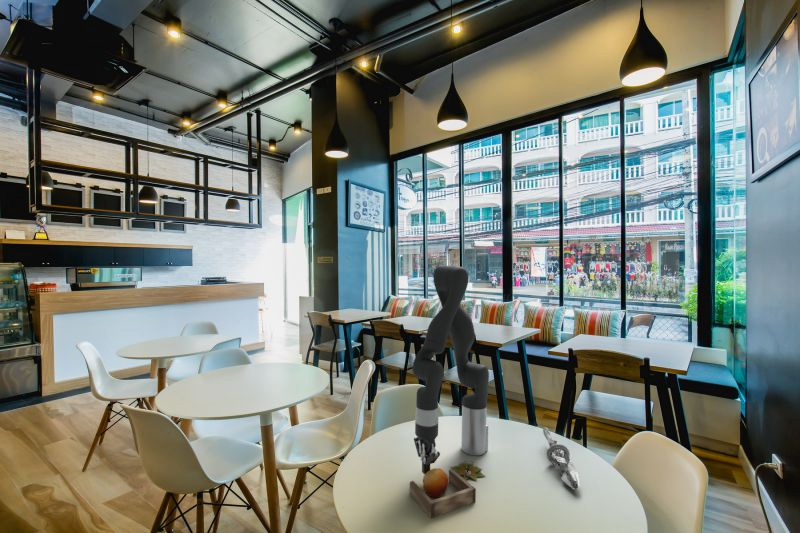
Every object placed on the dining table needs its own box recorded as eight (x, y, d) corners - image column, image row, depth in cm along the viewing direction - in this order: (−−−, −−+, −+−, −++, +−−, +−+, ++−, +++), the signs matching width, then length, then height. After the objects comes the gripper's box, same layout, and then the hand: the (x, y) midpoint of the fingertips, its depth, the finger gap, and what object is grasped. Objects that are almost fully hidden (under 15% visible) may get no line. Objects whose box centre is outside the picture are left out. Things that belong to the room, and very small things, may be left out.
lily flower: (473, 462, 135) (473, 449, 135) (492, 480, 123) (492, 466, 123) (443, 467, 131) (444, 454, 131) (460, 486, 119) (460, 472, 119)
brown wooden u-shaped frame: (451, 481, 122) (451, 468, 122) (475, 501, 111) (475, 488, 111) (409, 494, 114) (409, 481, 114) (430, 518, 103) (431, 504, 103)
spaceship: (556, 423, 149) (538, 415, 150) (594, 482, 115) (570, 472, 115) (548, 440, 150) (530, 432, 151) (582, 504, 116) (559, 493, 116)
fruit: (453, 498, 110) (439, 473, 111) (430, 508, 112) (417, 483, 113) (455, 483, 118) (442, 460, 119) (434, 492, 120) (422, 469, 120)
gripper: (448, 426, 116) (447, 481, 116) (425, 411, 128) (425, 460, 128) (427, 430, 113) (426, 487, 113) (407, 414, 125) (406, 466, 125)
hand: (425, 473), depth 121 cm, fingers closed
